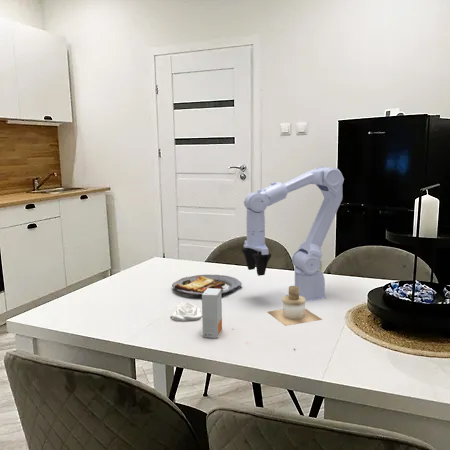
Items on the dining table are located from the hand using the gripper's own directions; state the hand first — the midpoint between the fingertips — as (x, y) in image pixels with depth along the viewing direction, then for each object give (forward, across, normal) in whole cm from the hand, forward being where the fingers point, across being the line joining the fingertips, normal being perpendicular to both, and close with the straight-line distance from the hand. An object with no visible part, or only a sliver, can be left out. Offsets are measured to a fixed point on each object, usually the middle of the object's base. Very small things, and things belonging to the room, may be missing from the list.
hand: (256, 272), depth 146 cm
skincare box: (+11, +18, -21) cm, 30 cm away
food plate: (+11, -22, -10) cm, 27 cm away
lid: (+5, +16, +5) cm, 18 cm away
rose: (+11, +2, -24) cm, 26 cm away
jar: (+10, +16, +5) cm, 19 cm away
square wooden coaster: (+10, +16, +5) cm, 20 cm away
